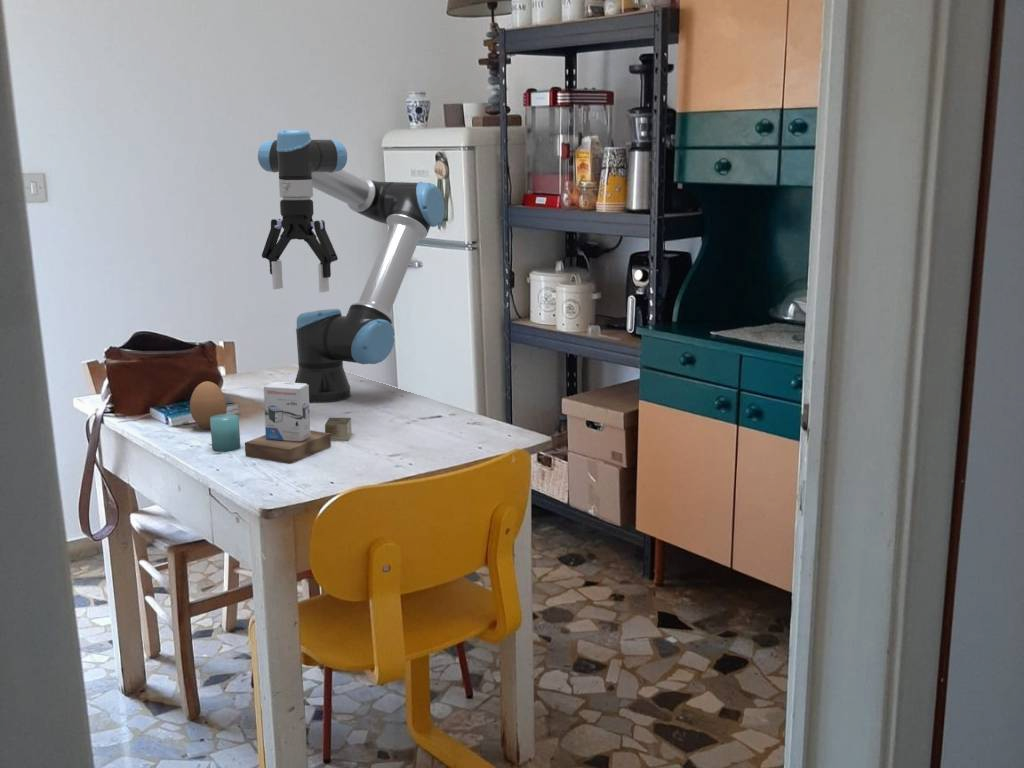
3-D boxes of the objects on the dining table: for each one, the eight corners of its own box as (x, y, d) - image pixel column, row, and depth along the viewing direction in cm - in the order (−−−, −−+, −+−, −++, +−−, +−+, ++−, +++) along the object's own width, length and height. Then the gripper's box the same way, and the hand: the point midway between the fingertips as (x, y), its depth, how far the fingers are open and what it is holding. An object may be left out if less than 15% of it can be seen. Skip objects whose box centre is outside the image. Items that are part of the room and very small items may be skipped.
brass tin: (330, 434, 227) (329, 417, 226) (351, 434, 227) (351, 417, 226) (325, 441, 221) (324, 424, 220) (347, 441, 221) (347, 424, 221)
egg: (202, 422, 237) (199, 377, 234) (234, 424, 235) (231, 378, 233) (184, 431, 229) (181, 384, 226) (217, 433, 227) (214, 386, 225)
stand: (287, 439, 222) (287, 427, 221) (331, 446, 217) (330, 433, 216) (245, 456, 210) (244, 442, 209) (290, 463, 205) (289, 449, 204)
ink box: (264, 439, 211) (261, 386, 209) (275, 433, 216) (272, 381, 213) (302, 442, 209) (299, 388, 207) (311, 435, 214) (309, 383, 212)
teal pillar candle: (225, 443, 220) (223, 412, 218) (246, 446, 217) (244, 415, 216) (206, 449, 215) (204, 418, 213) (227, 453, 212) (225, 421, 210)
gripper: (243, 198, 229) (248, 289, 234) (330, 200, 219) (334, 295, 223) (264, 197, 236) (269, 285, 241) (350, 199, 225) (353, 291, 230)
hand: (300, 290), depth 232 cm, fingers open, 13 cm apart
